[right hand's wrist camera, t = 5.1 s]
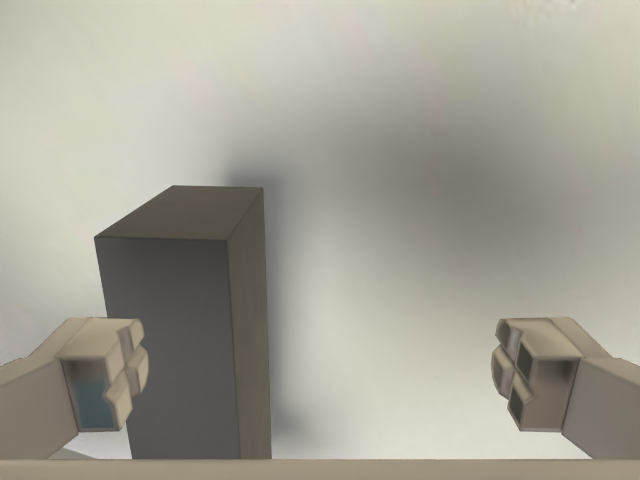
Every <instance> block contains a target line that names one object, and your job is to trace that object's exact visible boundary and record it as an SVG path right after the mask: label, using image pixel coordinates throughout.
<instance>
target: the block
mask: <svg viewBox="0 0 640 480" xmlns="http://www.w3.org/2000/svg"><path fill="white" fill-rule="evenodd" d="M94 241H95V247H96V253H97V259H98V264H99V270H100V276H101V282H102V287H103V293H104V299H105V305H106V310H107V316H108V318H138V319H139V320H140V321H141V322H142V325H143V330H144V334H145V335H144V337H143V339H142V340H141V342H140V343H139V344H140V345H141V346H142V347H143V348H144V349H145V350H146V351H147V353H148V359H149V373H148V377H147V381H146V385H145V387H144V389H143V391H142V393H141V394H140V395H138V396H137V397H135V398H134V399H132V400H131V401H132V406H133V409H132V411H131V412H130V414H129V416H128V418H127V419H126V425H127V431H128V437H129V443H130V448H131V454H132V459H272V454H271V421H270V389H269V356H268V324H267V291H266V259H265V226H264V193H263V188H257V187H216V186H175V185H173V186H171V187H169V188H168V189H166V190H165V191H163V192H162V193H160V194H159V195H157V196H156V197H154V198H153V199H151V200H150V201H148V202H147V203H145V204H143V205H142V206H140V207H139V208H137V209H136V210H134V211H133V212H131V213H130V214H128V215H127V216H125V217H124V218H122V219H121V220H119V221H117V222H116V223H114V224H113V225H111V226H110V227H108V228H107V229H105V230H104V231H102V232H101V233H99V234H98V235H96V236H95V237H94Z"/></svg>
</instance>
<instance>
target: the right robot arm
mask: <svg viewBox="0 0 640 480" xmlns="http://www.w3.org/2000/svg"><path fill="white" fill-rule="evenodd" d="M144 335H145V334H144V330H143V325H142V322H141V321H140V320H139V319H138V318H102V317H95V318H93V317H73V318H68V319H67V320H66V321H65V322H64V323H63V324H61V325H60V326H59V327H58V328H57V329H56V330H55V331H54V332H53V333H52V334H51V335H50V336H49V337H48V338H47V339H46V340H45V341H44V342H43V343H42V344H41V345H40V346H39V347H38V348H37V349H36V350H35V351H34V352H32V353H31V354H30V355H29V356H28V357H27V358H18V359H16V360H14V361H11V362H9V363H7V364H4V365H2V366H0V480H640V366H638V365H635V364H633V363H631V362H629V361H626V360H624V359H622V358H613V357H612V356H611V355H610V354H609V353H608V352H607V351H605V350H604V349H603V348H602V347H601V346H600V345H599V344H598V343H597V342H596V341H595V340H594V339H593V338H592V337H591V336H590V335H589V334H588V333H587V332H586V331H585V330H584V329H583V328H582V327H581V326H580V325H579V324H578V323H577V322H576V321H574V320H573V319H572V318H569V317H551V318H510V319H500V320H499V322H498V325H497V329H496V334H495V336H496V337H497V339H498V340H499V342H500V343H501V344H500V345H499V346H498V347H497V348H496V349H495V350H494V351H493V353H492V360H491V371H492V378H493V381H494V385H495V387H496V389H497V391H498V393H499V394H500V395H502V396H503V397H505V398H506V399H508V400H509V401H508V406H507V409H508V411H509V412H510V414H511V416H512V418H513V419H514V421H515V423H516V425H517V427H518V428H519V430H520V431H527V432H562V435H563V436H564V437H566V438H567V439H568V440H569V441H571V442H572V443H573V444H575V445H576V446H577V447H578V448H580V449H581V450H582V451H584V452H585V453H586V454H588V455H589V456H590V457H591V458H593V459H47V458H49V457H50V456H51V455H53V454H54V453H55V452H56V451H58V450H59V449H60V448H62V447H63V446H64V445H66V444H67V443H68V442H69V441H71V440H72V439H73V438H75V437H76V436H77V435H78V432H112V431H120V430H121V428H122V427H123V425H124V423H125V421H126V419H127V418H128V416H129V414H130V412H131V411H132V409H133V406H132V401H131V400H132V399H134V398H135V397H137V396H138V395H140V394H141V393H142V391H143V389H144V387H145V385H146V381H147V377H148V373H149V359H148V353H147V351H146V350H145V349H144V348H143V347H142V346H141V345H140V344H139V343H140V342H141V340H142V339H143V337H144Z"/></svg>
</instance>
